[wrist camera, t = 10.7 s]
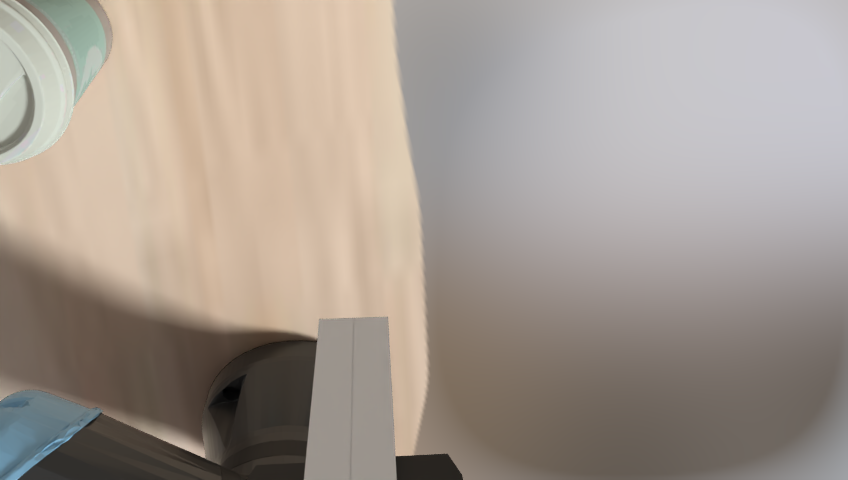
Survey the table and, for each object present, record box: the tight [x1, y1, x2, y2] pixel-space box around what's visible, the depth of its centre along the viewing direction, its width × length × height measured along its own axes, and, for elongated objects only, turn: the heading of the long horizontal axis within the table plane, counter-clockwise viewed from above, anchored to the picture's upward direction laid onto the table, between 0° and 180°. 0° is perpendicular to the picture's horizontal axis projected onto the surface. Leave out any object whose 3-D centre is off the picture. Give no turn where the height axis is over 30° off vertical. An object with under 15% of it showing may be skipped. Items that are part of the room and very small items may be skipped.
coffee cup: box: [0, 0, 112, 165], centre depth 34 cm, size 8×8×12 cm
